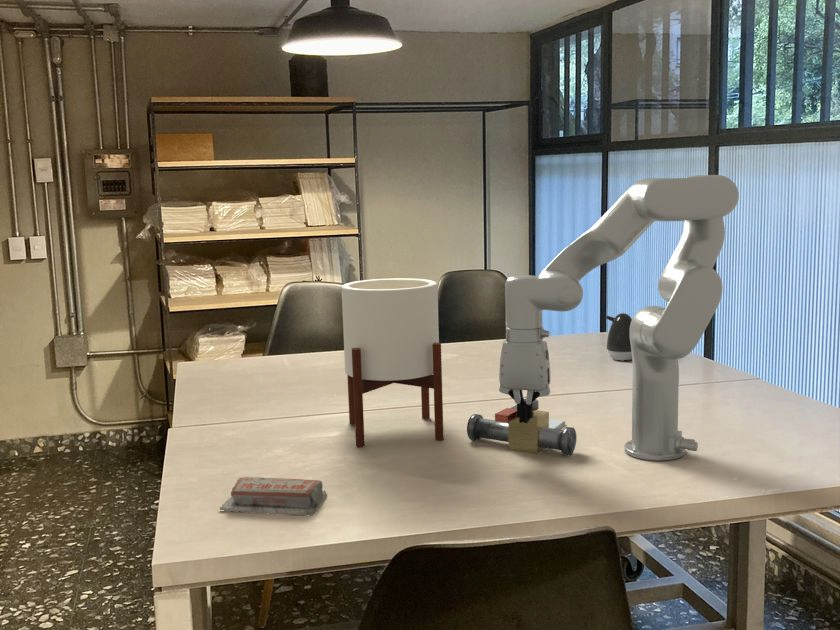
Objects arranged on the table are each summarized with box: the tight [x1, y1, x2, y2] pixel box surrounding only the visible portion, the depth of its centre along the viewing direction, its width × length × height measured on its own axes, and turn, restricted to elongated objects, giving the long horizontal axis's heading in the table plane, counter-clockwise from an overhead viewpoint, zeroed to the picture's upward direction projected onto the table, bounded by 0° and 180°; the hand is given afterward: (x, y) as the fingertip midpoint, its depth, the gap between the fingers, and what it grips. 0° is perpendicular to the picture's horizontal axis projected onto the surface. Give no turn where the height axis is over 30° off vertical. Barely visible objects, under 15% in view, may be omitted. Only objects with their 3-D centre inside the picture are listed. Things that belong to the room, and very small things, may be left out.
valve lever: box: [494, 398, 540, 423], centre depth 183 cm, size 14×4×2 cm, turn 145°
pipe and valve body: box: [466, 409, 577, 456], centre depth 189 cm, size 24×6×9 cm, turn 57°
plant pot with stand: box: [341, 277, 444, 448], centre depth 202 cm, size 22×22×36 cm
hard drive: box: [549, 418, 566, 430], centre depth 203 cm, size 2×8×12 cm
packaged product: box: [219, 476, 328, 517], centre depth 160 cm, size 18×5×10 cm
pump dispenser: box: [605, 312, 633, 362], centre depth 275 cm, size 10×10×15 cm
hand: (524, 421), depth 179 cm, fingers closed
